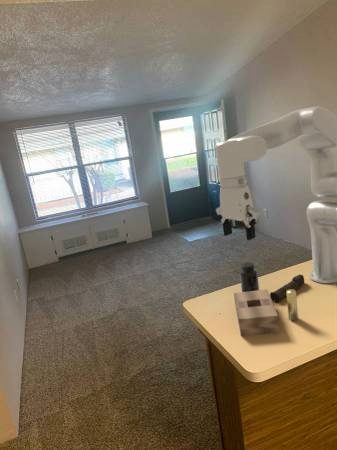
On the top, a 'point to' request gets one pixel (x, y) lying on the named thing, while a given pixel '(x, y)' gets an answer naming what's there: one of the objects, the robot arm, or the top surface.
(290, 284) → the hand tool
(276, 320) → the hole block
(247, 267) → the supplement bottle
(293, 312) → the peg
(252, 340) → the top surface
